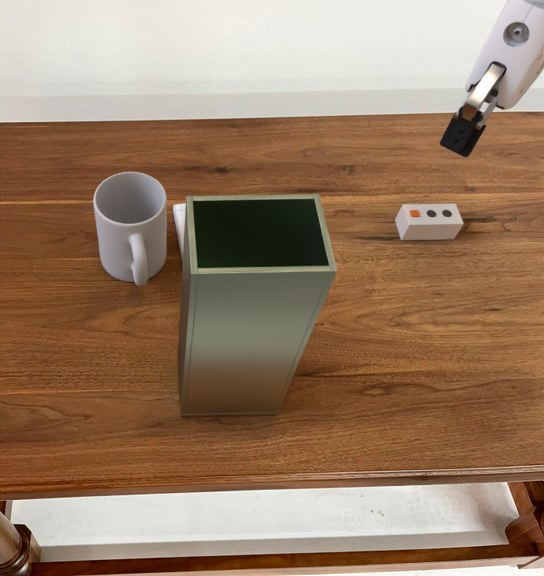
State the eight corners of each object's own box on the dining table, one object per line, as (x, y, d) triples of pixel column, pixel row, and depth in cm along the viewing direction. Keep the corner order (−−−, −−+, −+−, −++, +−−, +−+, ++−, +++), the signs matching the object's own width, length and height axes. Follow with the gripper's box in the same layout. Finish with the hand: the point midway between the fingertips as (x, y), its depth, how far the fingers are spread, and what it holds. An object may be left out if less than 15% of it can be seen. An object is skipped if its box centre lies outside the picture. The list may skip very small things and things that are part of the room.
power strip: (453, 239, 79) (464, 222, 76) (400, 240, 79) (410, 223, 76) (446, 219, 81) (456, 201, 78) (394, 220, 81) (403, 202, 78)
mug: (96, 235, 79) (88, 175, 70) (160, 226, 80) (160, 166, 71) (108, 311, 73) (101, 256, 64) (177, 300, 73) (180, 244, 64)
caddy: (268, 354, 69) (319, 193, 47) (276, 415, 65) (337, 270, 43) (177, 355, 69) (186, 195, 47) (180, 417, 65) (191, 273, 43)
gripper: (569, 30, 46) (472, 187, 60) (639, -57, 53) (538, 101, 67) (475, -6, 48) (404, 152, 63) (555, -84, 56) (475, 74, 70)
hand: (473, 126), depth 65 cm, fingers open, 9 cm apart
